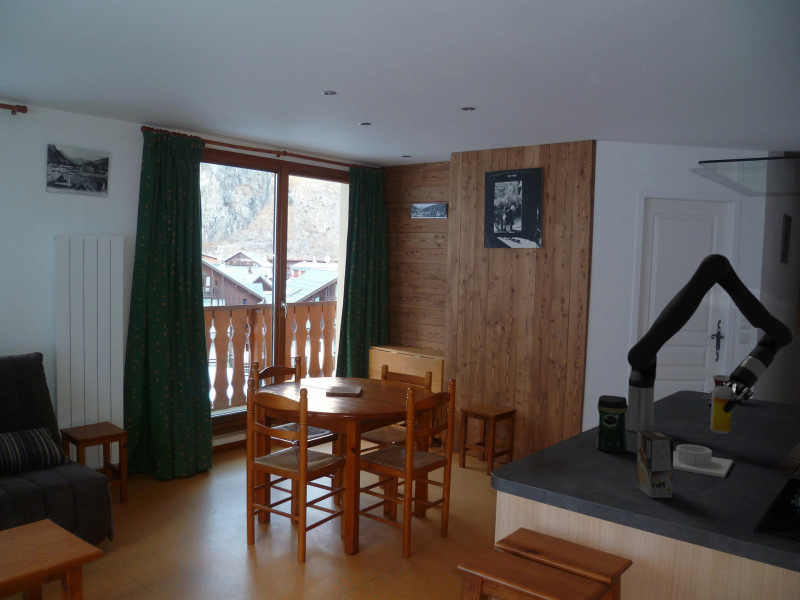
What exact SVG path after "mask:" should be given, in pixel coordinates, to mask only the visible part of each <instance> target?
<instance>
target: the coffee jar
mask: <svg viewBox="0 0 800 600" xmlns="http://www.w3.org/2000/svg"><path fill="white" fill-rule="evenodd" d="M627 405H628V400H627V398H626V397H625V396H618V395H611V394H610V395H607V394H605V395H604V394H603V395H600V396H599V398H598V403H597V412H598V416H599V417H598V430H597V437H596V448H597V449H598V450H599V451H603V452H607V451H609V453H624V452H626V450H627V432H626V412H627Z"/></svg>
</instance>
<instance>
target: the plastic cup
mask: <svg viewBox="0 0 800 600" xmlns="http://www.w3.org/2000/svg"><path fill="white" fill-rule="evenodd" d="M712 378H713V382H714V386H715V385H716V384H717V383H718V381H721V382H722V383H726V382H727V381H729V379H730V375H726V374H716V375H712Z"/></svg>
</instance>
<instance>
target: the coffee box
mask: <svg viewBox="0 0 800 600" xmlns="http://www.w3.org/2000/svg"><path fill="white" fill-rule="evenodd" d="M674 446H675V439H674V438H672V437H671V436H669V435H667V434H665V433H663V432H661V431H659V430H653V431H638V433H637V455H636V456H637V457H636V459H637V461H636V488H637V489H638V490H639V491H641V492H642V493H644V494H645V495H646V496H648V497H649V498H651V499H657V498H659V499H661V498H662V499H666V498H667V499H669V498H670V499H671V498H673V484H674V483H673V482H674V481H673V478H674V477H673V476H674V469H673V452H674V451H675V449H674V448H675V447H674Z"/></svg>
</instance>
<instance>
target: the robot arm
mask: <svg viewBox="0 0 800 600" xmlns="http://www.w3.org/2000/svg"><path fill="white" fill-rule="evenodd" d="M716 284H717V285H719V286H720V287H721V288H722V289H723V290H724V291H725V292H726V293H727V294H728V297H730V299H731V300H732V302H733V303H734V305H735V306H736V308H737V309H738V311H739V312H740V313H741V314H742V316H743V317H744V318H745V319H746V320H747V322H749V324H750V325H751V326H752V327H753V328H754V329H761V330H762V331H763V332H764V334H763V335H762V336H761V337H760V339H759V340H758V342H757V344H756V345H755V347H754V348H753V349H752V350H751V352H749V354H748V355H747V356H746V357H745V358H744V359H743V360H742V361H741V362H740V363H739V364H738V365H737V366H736V367H735V369H734V370H733V371H732V372H731V373H730V374H729V376H730V379H729V381H727V382H726V383H722V382H721V381H718V383H717V384H716V385H715V384H714V386H725V387H730V388H731V390H732V396H731V399H730V400H731V401H728V402H727V403H726V405H725V406H724V407H723V410H724V412H725V413H728V412H729V411H731V409H733V408H734V407H735V406H737V405H739V406H742V405H744V404H745V403H746V402H747V401H748V400H749V399H750V398H751V397H752V396H753V395H754V392H753V391H752V388H753V387H754V386H755V385H756V383H757V382H758V381H759V379H761V377H762V376H763V375H764V374H765V371H766V370H767V369H768V368H769V367H770V365H771V364H772V363H773V362H774V360H775V356H776V355H777V353H778V352H779V351H780V350H781V349H783V348H786V347H787V346H789V345H790V344H792V342H793V339H794V336H793V333H792V332H791V331H792V330H790V329H789V327H788V326H787V325H786V324H785V323H784V322H782V321H780V320H779V319H778V318H776V317H775V316H774V315H772V314H771V313H770V311H769V310H768V309H767V308H766V307H765V306H764V304H763V303H762V302H761V301H760V300H759V299H758V298H757V297H756V296H755V295H754V294H753V292H752V291H751V290H750V288H748V287H747V286H746V284H744V282H743V281H742V280H741V278H740V277H739V276H738V274H737V273H736V271H735V269H734V267H733V265H732V264H731V262H730V260H729V259H728V258H727V257H726V256H725V255H722V254H718V253H712V254H709V255H706V256H705V257H704V258H703V259H702V261H701V262H700V264H699V266H698V267H697V268H696V270H695V271H694V273H693V274H692V276H691V277H690V279H689V280H688V281H687V283H686V284H684V286H683V287H682V288H681V289H679V291H678V292H677V293H676V294H674V296H673V297H672V299H671V300H670V301H669V302H668V303H667V304H666V306H665V307H664V308H663V309H662V311H661V312H660V313H659V315H658V316H657V317H656V319H655V320H654V321H653V323H652V324H651V326H650V327H649V329H648V331H647V332H646V333H645V334H644V335H643V336H642V337H641V338H640V339H639V340H638V341H637V342H636V343H635V344H634V345H633V346H632V347H631V348H630V349H629V350H628V353H627V363H628V365H629V366H630V367H631V368H630V370H631V371H630V374H629V378H628V388H627V389H628V391H627V392H628V393H627V394H628V395H627V412H626V414H625V431H629V430H630V432H632V431H633V433H636V434H638V431H654V410H655V409H654V404H655V381H656V379H657V365H658V364H657V363H658V360H657V359H658V355H657V354H658V352H659V351H660V350H661V349H662V347H663V346H664V345H665V344H666V343H667V342H668V341H670V339H672V338H673V337H674V336H675V335H676V334H677V333H679V332H680V330H682V328H683V327H685V325H686V324H687V323H688V322H689V321H690V319H691V318H692V317H693V315H694V314H695V312H696V311H697V309H699V306H700V305H701V303H702V301H703V299H704V298H705V296H706V295H707V293H708V292H709V291H710V290H711V289H712V288H713V287H714V286H715V285H716ZM710 394H711V395H712V390H711V391H710ZM711 405H712V398H710V400H709V401H708V402H707V406H708V408H710V409H711ZM731 412H732V411H731Z"/></svg>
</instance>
